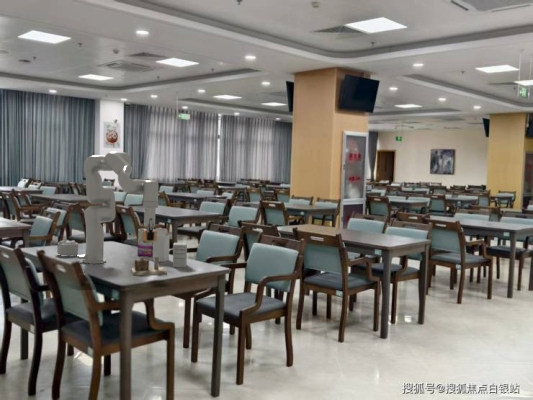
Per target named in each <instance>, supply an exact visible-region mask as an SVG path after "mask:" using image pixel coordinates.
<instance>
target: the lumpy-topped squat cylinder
mask: <svg viewBox="0 0 533 400" xmlns="http://www.w3.org/2000/svg"><path fill="white" fill-rule="evenodd" d="M57 253H58V254H60V255H67V256H70V255H79V243H78V242H76V241H75V240H74V239H73V240H69V239H66V240H64V239H63V240H60V241H59V242H57ZM70 257H71V256H70Z"/></svg>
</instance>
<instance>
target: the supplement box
mask: <svg viewBox="0 0 533 400" xmlns="http://www.w3.org/2000/svg"><path fill="white" fill-rule="evenodd" d="M187 247H188V243H187V242H174V243H173V247H172V268H186V267H187V263H188V262H187V257H188V248H187Z"/></svg>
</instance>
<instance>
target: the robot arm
mask: <svg viewBox="0 0 533 400" xmlns="http://www.w3.org/2000/svg"><path fill="white" fill-rule="evenodd" d="M131 163H132V159H131V156H130V154H129V153H127V152H123V151H110V152H107V153H106V154H105V155H100V154H99V155H95V154H94V155H91V156H88V157H87V158H86V159H85V160H84V164H83V171H84V175H85V185H86V186H85V187H86V188H85V189H86V199H87V202H88V203H90V204H102V205H92V206H88V207H87V208H85V210H84V213H83V215H84V221H85V253H84V254H78V255H77V256H76V259H77V260H82V263H83V262H84V264H88V263H89V264H92V265H95V264H96V265H97V264H104V263H106V262H107V259H106V258H104V245H105V244H104V240H105V237H104V236H105V232H104V227H103V225H102V223H110V222H112V221H113V220H114V219H115V217H116V194H115V191H114V189H113V188H112V187H110V186H103V178H102V175H101V174H100V171H101V172H114V173H115V174H116V175H117V181H118V185H119V186H120V188H122V189H123V190H124V192H126V193H127V194H129V195H142V209H143V208H144V212H143V213H144V214H143V217H144V218H143V225H144V227H145V229H146V230H148V232H147V240H154V232H153V229H154V227H155V225H156V209H157V208H159V182H158V181H157V180H150V179H149V180H147V179H132V178H130V175H131V174H132V172H133V167H132V165H131ZM155 228H156V227H155Z"/></svg>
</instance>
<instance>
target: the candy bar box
mask: <svg viewBox="0 0 533 400" xmlns="http://www.w3.org/2000/svg"><path fill="white" fill-rule="evenodd" d="M144 230H146V228H138V229H137V256H140V257H150V258H153V241H143V240H142V239H143V231H144ZM153 230H155V231H156V228H155V229H154V228H153Z"/></svg>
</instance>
